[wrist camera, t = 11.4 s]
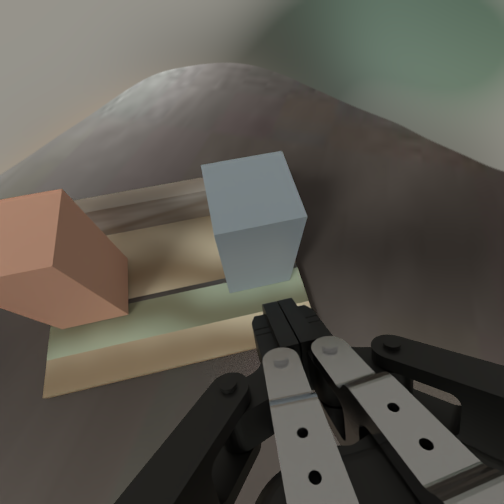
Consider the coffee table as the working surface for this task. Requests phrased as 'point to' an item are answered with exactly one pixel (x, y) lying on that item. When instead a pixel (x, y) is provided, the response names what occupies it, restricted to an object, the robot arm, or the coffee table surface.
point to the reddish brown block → (58, 263)
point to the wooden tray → (161, 293)
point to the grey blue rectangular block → (254, 219)
